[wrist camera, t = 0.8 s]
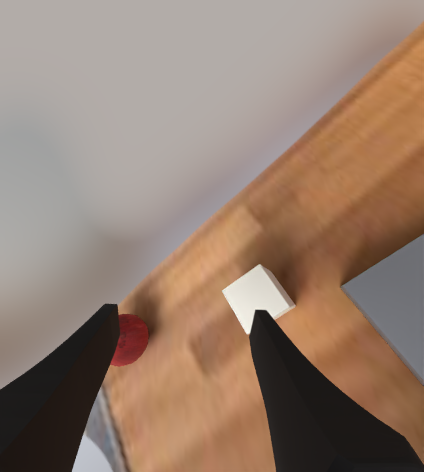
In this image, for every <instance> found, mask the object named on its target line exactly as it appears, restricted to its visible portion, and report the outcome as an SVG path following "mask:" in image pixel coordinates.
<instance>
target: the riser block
mask: <svg viewBox="0 0 424 472" xmlns="http://www.w3.org/2000/svg"><path fill="white" fill-rule="evenodd" d="M340 288H341V289H342V290H343V292H344V293H345V294H346V295H347V296H348V297H349V299H350V300H351V301H352V302H353V303H354V305H355V306H356V307H357V308H358V309H359V310H360V312H361V313H362V314H363V315H364V316H365V318H366V319H367V320H368V321H369V322H370V323H371V325H372V326H373V327H374V328H375V329H376V331H377V332H378V333H379V334H380V335H381V336H382V338H383V339H384V340H385V341H386V342H387V344H388V345H389V346H390V347H391V348H392V349H393V351H394V352H395V353H396V354H397V355H398V357H399V358H400V359H401V360H402V361H403V362H404V364H405V365H406V366H407V367H408V368H409V370H410V371H411V372H412V373H413V374H414V375H415V377H416V378H417V379H418V380H419V381H420V383H421V384H422V385H423V386H424V234H423V235H421V236H420V237H418V238H416V239H415V240H413V241H412V242H410V243H409V244H407V245H405V246H404V247H402V248H401V249H399V250H398V251H396V252H394V253H393V254H391V255H390V256H388V257H387V258H385V259H383V260H382V261H380V262H379V263H377V264H375V265H374V266H372V267H371V268H369V269H368V270H366V271H364V272H363V273H361V274H360V275H358V276H357V277H355V278H353V279H352V280H350V281H349V282H347V283H346V284H344V285H342V286H341V287H340Z"/></svg>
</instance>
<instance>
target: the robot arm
mask: <svg viewBox="0 0 424 472" xmlns="http://www.w3.org/2000/svg"><path fill="white" fill-rule="evenodd" d="M119 337H120V325H119V315H118V306H117V304H104V305H103V306H102V307H101V308H100V309H99V310H98V311H97V312H96V313H95V314H94V315H93V316H92V317H91V318H90V319H89V320H88V321H87V322H85V324H84V325H82V326H81V327H80V328H79V329H78V330H77V331H76V332H75V333H74V334H73V335H71V336H70V337H69V338H68V339H67V340H66V341H65V342H63V344H61V345H60V346H59V347H58V348H57V349H55V350H54V351H53V352H52V353H50V354H49V355H48V356H47V357H46V358H44V359H43V360H42V361H40V362H39V363H38V364H36V365H35V366H34V367H33V368H31V369H30V370H28V371H27V372H26V373H24V374H23V375H21V376H20V377H18V378H17V379H15V380H14V381H12V382H11V383H9V384H8V385H6V386H5V387H3V388H2V389H0V472H72V469H73V465H74V462H75V459H76V455H77V452H78V449H79V446H80V442H81V439H82V436H83V433H84V430H85V427H86V424H87V421H88V418H89V415H90V412H91V409H92V407H93V404H94V401H95V399H96V397H97V394H98V392H99V389H100V387H101V385H102V382H103V380H104V378H105V375H106V373H107V371H108V368H109V366H110V363H111V361H112V358H113V356H114V354H115V350H116V347H117V344H118V340H119ZM249 339H250V346H251V353H252V358H253V362H254V366H255V370H256V374H257V377H258V381H259V385H260V388H261V392H262V396H263V400H264V404H265V408H266V412H267V418H268V424H269V429H270V435H271V441H272V447H273V453H274V459H275V466H276V472H424V465H423V463H422V462H421V460H420V459H419V457H418V455H417V454H416V452H415V451H414V449H413V448H412V447H411V445H410V444H409V442H408V441H407V440H406V438H405V437H404V436H402V435H401V434H399V433H398V432H396V431H395V430H393V429H392V428H391V427H389V426H388V425H386V424H385V423H383V422H382V421H380V420H379V419H377V418H376V417H375V416H373V415H372V414H370V413H369V412H368V411H366V410H365V409H364V408H362V407H361V406H360V405H358V404H357V403H356V402H355V401H353V400H352V399H351V398H350V397H348V396H347V395H346V394H345V393H343V392H342V391H341V390H340V389H339V388H338V387H336V386H335V385H334V384H333V383H332V382H331V381H329V380H328V379H327V378H326V377H325V376H324V375H323V374H322V373H321V372H320V371H319V370H318V369H317V368H316V367H315V366H314V365H313V364H312V363H311V362H310V361H309V360H308V359H307V358H306V357H305V356H304V355H303V354H302V353H301V352H300V351H299V350H298V348H297V347H296V346H295V345H294V344H293V343H292V341H291V340H290V339H289V338H288V337H287V335H286V334H285V333H284V332H283V330H282V329H281V328H280V327H279V325H278V324H277V323H276V322H275V320H274V319H273V318H272V316H271V315H270V314H269V312H268V311H267V310H256V309H255V313H254V318H253V322H252V327H251V331H250V336H249Z"/></svg>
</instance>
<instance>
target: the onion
mask: <svg viewBox="0 0 424 472" xmlns="http://www.w3.org/2000/svg"><path fill="white" fill-rule="evenodd" d="M119 325H120V337H119V340H118V344H117V347H116V350H115V354H114V356H113V358H112V361H111V363H110V365H114V366H124V365H128V364H131V363H133V362H134V361H136V360H137V359H138V358H139V357H140V356H141V355H142V354H143V352H144V350H145V349H146V347H147V344H148V339H149V335H148V328H147V326H146V324H145V322H144V321H143V320H141V319H140V318H139V317H138V316H136V315H131V314H121V315H119Z"/></svg>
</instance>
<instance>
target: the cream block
mask: <svg viewBox="0 0 424 472" xmlns="http://www.w3.org/2000/svg"><path fill="white" fill-rule="evenodd" d="M222 292H223V294H224V295H225V297H226V299H227V300H228V302H229V304H230V306H231V307H232V309H233V311H234V313H235V314H236V316H237V318H238V320H239V321H240V323H241V325H242V326H243V328H244V330H245V332H246V333H247V334H249V333H250V331H251V327H252V322H253V318H254V313H255V309H256V310H267V311H268V312H269V314H270V315H271V316H272V318H273V319H274V320H275V319H277V318H278V317H280V316H282V315H283V314H285V313H286V312H288V311H289V310H291V309H292V308H294V307H296V305H295V304H294V303H293V301H292V300H291V298H290V297H289V296H288V294H287V293H286V291H285V290H284V289H283V287H282V286H281V284H280V283H279V282H278V280H277V279H276V277H275V276H274V275H273V273H272V272H271V271H270V270H268V269H266V268H265V267H263V266H262V265H260V264H259V265H257V266H256V267H255V268H253V269H252V270H250V271H249V272H248V273H246V274H245V275H243V276H242V277H241V278H239V279H238V280H236V281H235V282H234V283H232V284H231V285H229V286H228V287H226V288H225V289H224V290H222Z"/></svg>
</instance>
